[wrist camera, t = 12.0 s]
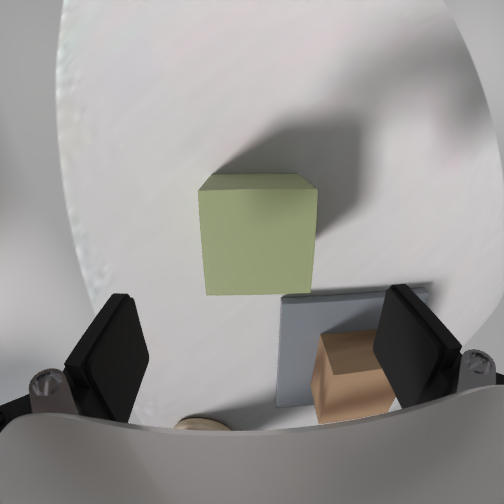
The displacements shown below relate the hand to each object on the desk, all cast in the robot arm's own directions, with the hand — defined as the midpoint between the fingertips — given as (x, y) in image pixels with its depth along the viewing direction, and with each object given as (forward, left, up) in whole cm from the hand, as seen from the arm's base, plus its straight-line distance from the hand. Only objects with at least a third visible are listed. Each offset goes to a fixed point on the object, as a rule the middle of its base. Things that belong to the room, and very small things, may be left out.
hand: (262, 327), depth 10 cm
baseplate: (+13, +9, -12) cm, 20 cm away
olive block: (-1, 0, -12) cm, 12 cm away
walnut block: (+13, +9, -11) cm, 19 cm away
